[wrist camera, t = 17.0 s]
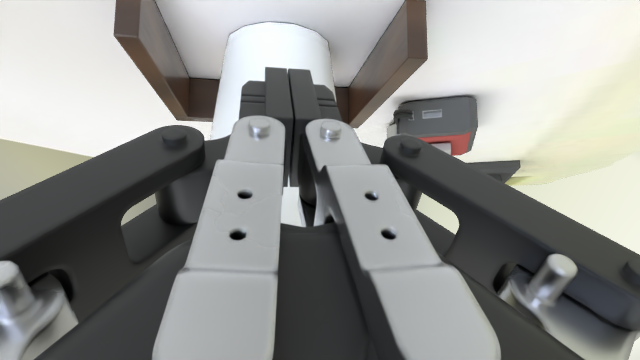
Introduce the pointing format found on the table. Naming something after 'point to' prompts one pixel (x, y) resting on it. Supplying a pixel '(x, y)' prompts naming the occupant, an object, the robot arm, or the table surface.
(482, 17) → the table surface
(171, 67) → the cup bay
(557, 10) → the table surface
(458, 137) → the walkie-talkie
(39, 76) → the table surface
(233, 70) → the foam cup
